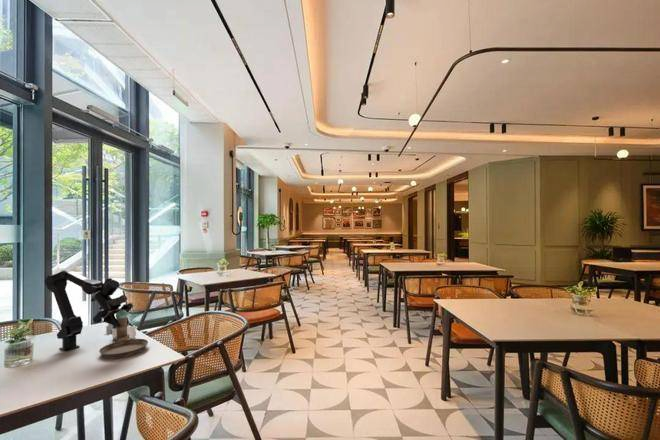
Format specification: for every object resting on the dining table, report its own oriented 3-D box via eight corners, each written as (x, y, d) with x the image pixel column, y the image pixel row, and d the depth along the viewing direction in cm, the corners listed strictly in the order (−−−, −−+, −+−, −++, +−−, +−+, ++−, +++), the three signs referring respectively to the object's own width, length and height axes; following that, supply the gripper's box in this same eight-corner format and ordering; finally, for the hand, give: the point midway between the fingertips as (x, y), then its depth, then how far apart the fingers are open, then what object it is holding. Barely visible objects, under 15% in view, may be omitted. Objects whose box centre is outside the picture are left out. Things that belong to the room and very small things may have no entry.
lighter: (106, 333, 197) (106, 319, 197) (106, 332, 198) (106, 319, 198) (120, 330, 201) (120, 317, 201) (120, 330, 203) (120, 316, 203)
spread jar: (114, 336, 191) (114, 316, 191) (137, 333, 195) (137, 313, 195) (110, 343, 180) (110, 321, 180) (134, 340, 184) (134, 318, 184)
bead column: (111, 341, 162) (111, 312, 162) (117, 337, 168) (117, 308, 168) (126, 340, 163) (126, 311, 163) (131, 336, 169) (131, 308, 169)
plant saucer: (88, 361, 156) (88, 354, 156) (115, 345, 177) (115, 339, 177) (134, 359, 157) (134, 352, 157) (155, 344, 177) (155, 337, 178)
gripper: (97, 294, 158) (117, 319, 155) (130, 287, 176) (148, 309, 173) (84, 310, 159) (103, 335, 157) (117, 301, 178) (135, 324, 175)
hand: (124, 325), depth 165 cm, fingers closed on bead column, 4 cm apart
